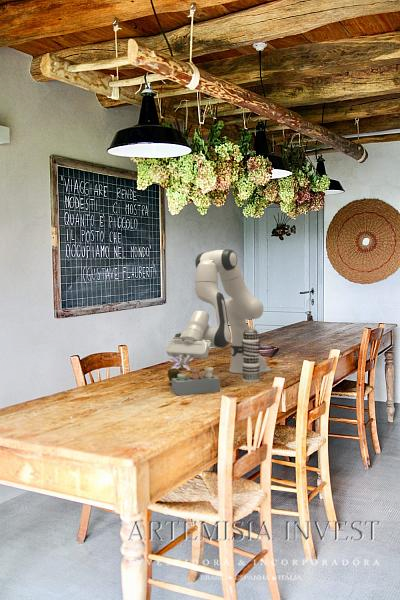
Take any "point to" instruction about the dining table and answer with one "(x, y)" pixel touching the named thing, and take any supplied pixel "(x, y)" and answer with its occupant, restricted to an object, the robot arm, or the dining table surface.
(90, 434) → the dining table surface
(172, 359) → the water lily
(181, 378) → the sage button
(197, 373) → the terracotta button
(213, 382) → the grey slotted holder
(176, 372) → the potato
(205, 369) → the cream button
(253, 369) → the decorative candle
